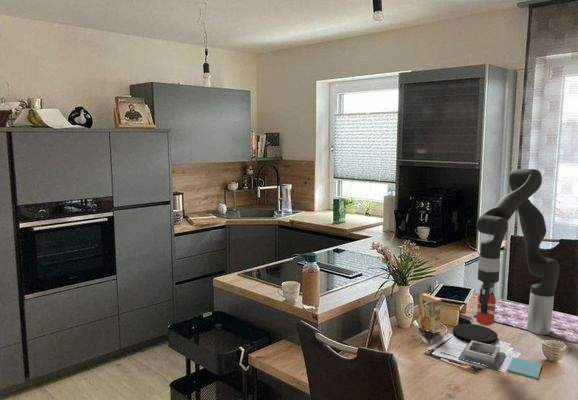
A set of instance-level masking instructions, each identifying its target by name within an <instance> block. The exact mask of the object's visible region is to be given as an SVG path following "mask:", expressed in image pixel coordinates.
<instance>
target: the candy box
mask: <svg viewBox="0 0 578 400" xmlns="http://www.w3.org/2000/svg"><path fill="white" fill-rule="evenodd" d="M418 304H419V308H418V323H417V324H418V326H417V327H418V328H419V329H422V330H424V331H425V330H432V331H436V330H438V331H439V333H440V330H441V329H440V328H441V312H442V311H441V310H442V308H441V307H442V298H439V297H437V296H433V295H431V294H428V293H421V294H419V302H418Z"/></svg>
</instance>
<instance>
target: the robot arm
mask: <svg viewBox="0 0 578 400" xmlns="http://www.w3.org/2000/svg"><path fill="white" fill-rule="evenodd" d="M508 176H509V177H508V183H509V187H510V191H511V192H509V193H507V194H506V195H504V196H502V197H501V198H500V199H499V200H498V201H497V203H496V204H495V205H494V206H493V207H492V208H490V209H488V210H487V211H485V212H483V213H482V214H481V215H480V216H479V217H478V219H477V221H476V229H477V231H478V232H479V233H480V234H484V235H489V236H493V238H492V239H485V240H484V239H483V241H481V242H480V247H479V258H478V266H477V280H478V281H480V282H482V284H481V285H480V289H479V294H480V304H481V313H482V314H487V309H488V301H489V299H490V297H491V293H494V294H495V292H494V291H495V284H497V283H499V281H500V272H501V249H502V244H503V241H504V240H505V239H504V238H505V236H506V234H507V232H508V227H509V226H508V225H509V224H508V221H509V220H510V219H511V218H512V216H513V215H514V214H515V213H516V211H517V212H518V213H517V214H518V218H519V224H520V228H521V229H520V230H521V232H522V235H523V241H524V246H525V254H526V263H527V268H528V271H529V273H530V275H532V276H534V277H537V278H540V279H541V283H534V284H532V285H530V291H529V302H528V312H527V324H526V329H527V331H528V332H530V333H533V334H536V335H541V336H546V335H550V334H551V331H552V322H553V320H552V319H553V311H554V299H555V292H556V289H557V285H558V281H559V280H558V279H559V274H560V273H559V272H560V264H559V262H558V261H557V260H556V259H553V258H550V257H546V256H543V255H542V253H541V249H540V247H541V246H540V245H541V243H542V242H543V240H544V239H545V237H546V234H547V225H546V221H545V217H544V215H543V213H542V212H541V211H540V209H539V208H538V207H536V205H535V204H534V203H533V202H531V200H530V199H529V198H530V197H532V196H533V195H534V194H535V193H536V192H538V190H540V188H541V186H542V182H543V176H542V173H541V172H540V170H538V169H537V168H517V169H516V168H515V169H512V170H511V171H510V172H509V175H508ZM488 295H489V296H488ZM483 298H484V299H485V301H483Z"/></svg>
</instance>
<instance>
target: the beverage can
mask: <svg viewBox="0 0 578 400" xmlns="http://www.w3.org/2000/svg"><path fill="white" fill-rule="evenodd" d="M488 296H489V295H488ZM483 301H485V299H484V298H483ZM476 306H477V308H476V317H475V319H476V321H475V322H477V323H478V325H481V326H484V327H487V326H492V325H494V323H495V312H496V311H495V310H496V296H495V292H494V293H491V297H490V299H489V301H488V309H487V314H482V313H481V304H480V293H479V294H478V295H477V304H476Z"/></svg>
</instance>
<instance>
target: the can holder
mask: <svg viewBox="0 0 578 400" xmlns="http://www.w3.org/2000/svg"><path fill="white" fill-rule="evenodd" d="M475 350H476V351H475ZM500 350H501V347H500V346H496V345H494V344H490V345H489V344H485V343H481V342H477V341H472V340H471V342H470V343H467V344H466V346H465V347H464V349H463V350H462V352H461V353H460V354H459V356H458V359H459V358H461V359H464V360H468V361H472V362H476V363H480V364H484V365H486V366H488V367H487V368H489V369H494V370H497V371H498V370H499V368H500V366H501V364H502V362H503V360H504V358H505V355H506V353H505V352H501V351H500ZM478 351H480V352H478ZM482 352H484V353H482ZM486 353H489V354H486ZM490 354H493V355H490ZM503 357H504V358H503ZM502 359H503V360H502ZM501 361H502V362H501ZM486 366H485V367H486Z"/></svg>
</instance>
